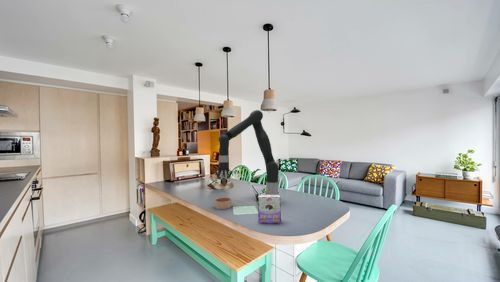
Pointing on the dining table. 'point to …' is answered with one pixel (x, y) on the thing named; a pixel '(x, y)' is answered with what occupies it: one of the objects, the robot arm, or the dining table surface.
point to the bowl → (222, 203)
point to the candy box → (269, 209)
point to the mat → (245, 210)
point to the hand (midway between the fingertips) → (223, 184)
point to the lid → (223, 185)
